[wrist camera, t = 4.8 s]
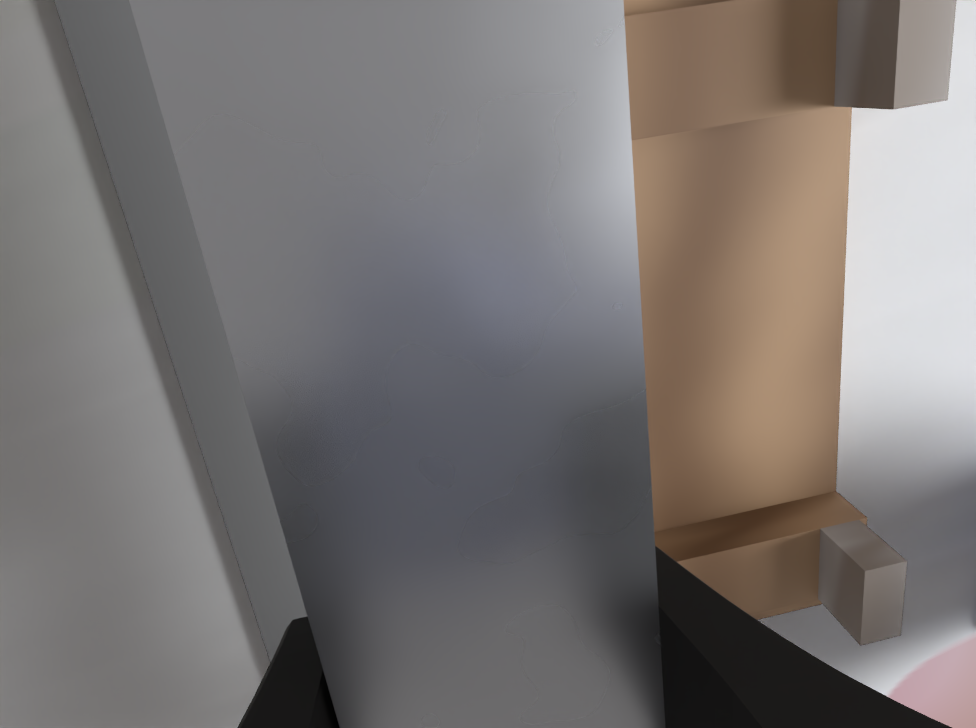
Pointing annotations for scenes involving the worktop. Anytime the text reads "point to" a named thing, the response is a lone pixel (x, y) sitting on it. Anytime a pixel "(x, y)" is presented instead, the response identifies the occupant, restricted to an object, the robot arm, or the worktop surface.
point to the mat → (182, 297)
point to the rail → (435, 339)
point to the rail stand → (762, 283)
